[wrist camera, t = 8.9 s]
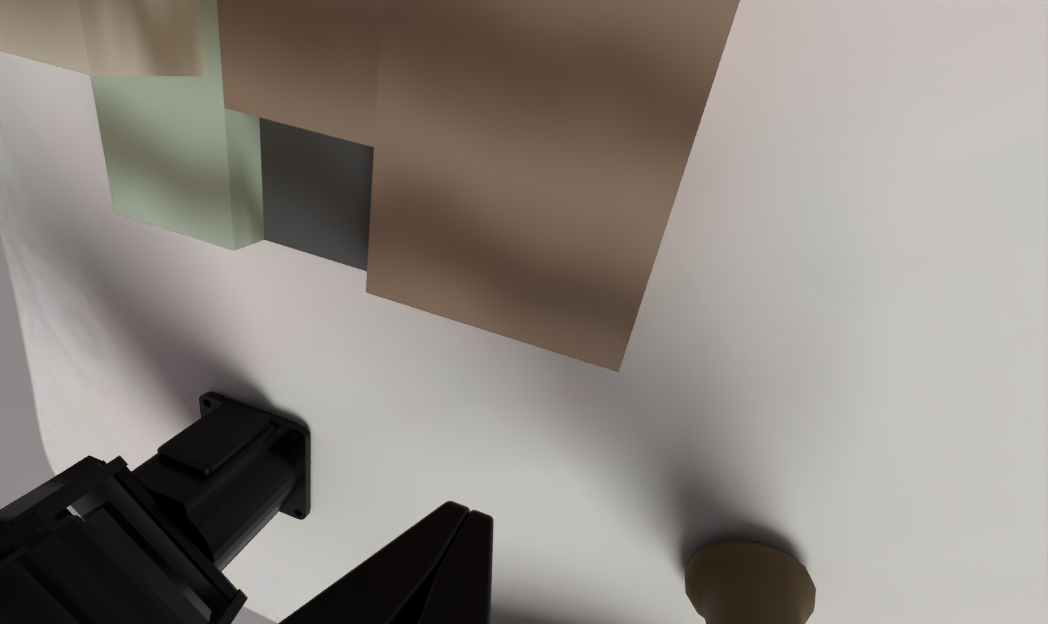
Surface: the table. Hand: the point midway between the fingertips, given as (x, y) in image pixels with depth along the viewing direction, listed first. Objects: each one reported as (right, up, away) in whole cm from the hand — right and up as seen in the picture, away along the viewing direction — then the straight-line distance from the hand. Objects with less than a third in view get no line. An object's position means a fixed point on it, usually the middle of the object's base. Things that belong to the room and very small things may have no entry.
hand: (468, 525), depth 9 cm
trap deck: (-4, +13, +9) cm, 16 cm away
